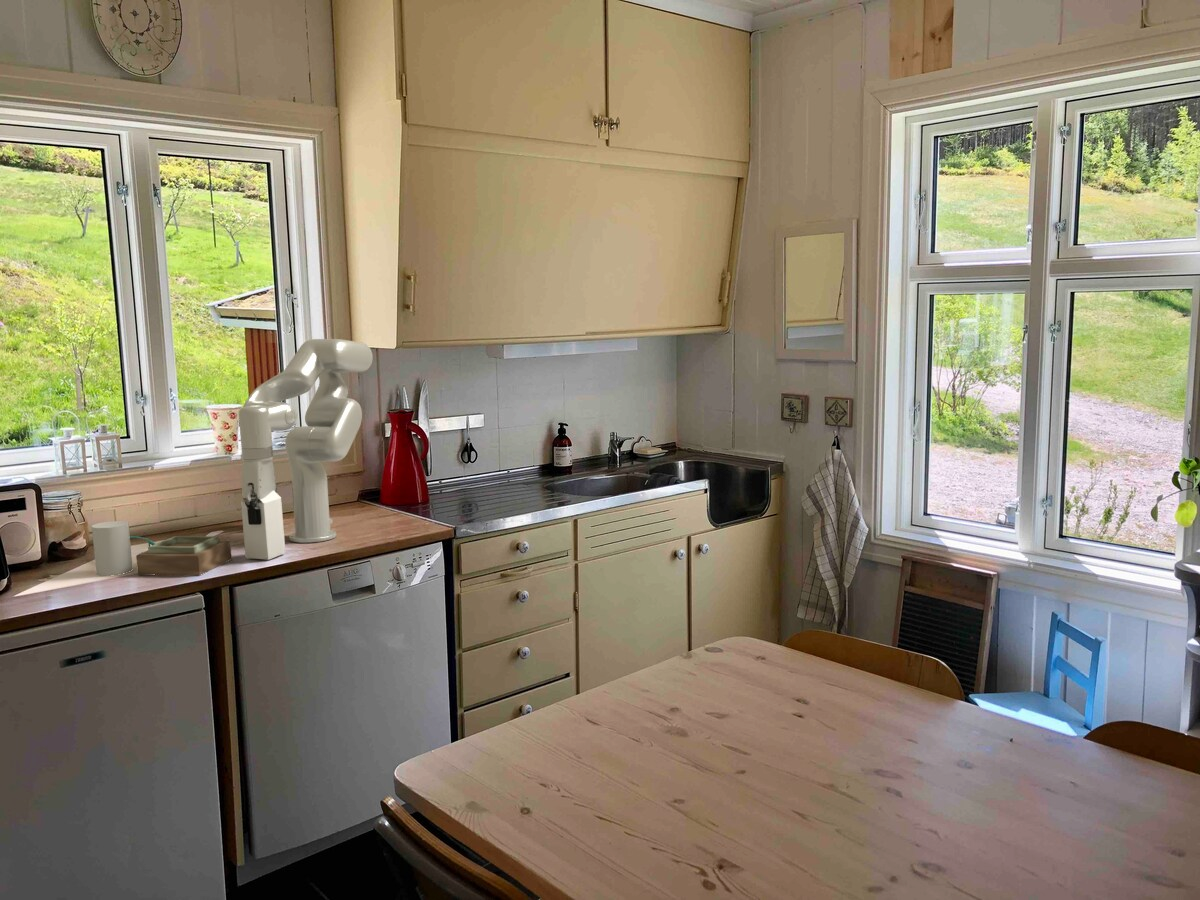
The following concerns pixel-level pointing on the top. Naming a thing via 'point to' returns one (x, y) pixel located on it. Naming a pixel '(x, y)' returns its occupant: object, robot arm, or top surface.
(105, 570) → the cup
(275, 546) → the milk carton
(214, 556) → the stand
